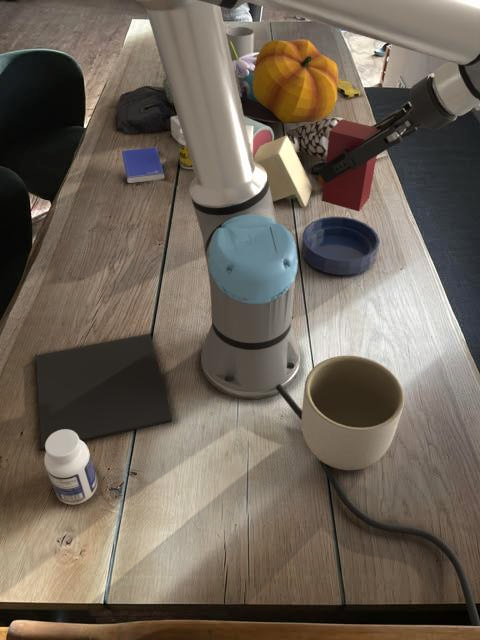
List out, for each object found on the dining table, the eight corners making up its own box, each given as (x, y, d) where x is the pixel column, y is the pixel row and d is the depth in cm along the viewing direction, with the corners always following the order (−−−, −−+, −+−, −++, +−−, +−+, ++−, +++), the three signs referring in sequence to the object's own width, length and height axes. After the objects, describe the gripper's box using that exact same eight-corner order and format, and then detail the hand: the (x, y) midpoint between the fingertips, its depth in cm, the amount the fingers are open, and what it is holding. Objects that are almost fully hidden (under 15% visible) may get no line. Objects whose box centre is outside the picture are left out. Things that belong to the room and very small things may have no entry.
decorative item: (346, 98, 168) (362, 95, 169) (346, 95, 167) (362, 92, 169) (327, 82, 175) (343, 80, 177) (328, 79, 175) (343, 77, 176)
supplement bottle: (176, 166, 140) (173, 132, 134) (186, 157, 143) (184, 123, 137) (194, 171, 138) (192, 136, 133) (204, 162, 141) (203, 128, 136)
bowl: (388, 270, 112) (392, 253, 109) (317, 284, 109) (319, 266, 107) (357, 228, 122) (359, 211, 119) (290, 240, 119) (292, 222, 116)
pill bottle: (79, 462, 82) (65, 416, 75) (106, 484, 79) (94, 439, 73) (46, 489, 79) (29, 444, 72) (73, 513, 76) (58, 469, 70)
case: (332, 187, 110) (341, 119, 101) (369, 198, 108) (381, 128, 99) (321, 200, 107) (329, 130, 98) (359, 211, 105) (370, 141, 96)
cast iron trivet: (173, 94, 169) (172, 77, 165) (179, 131, 153) (178, 113, 150) (117, 97, 167) (115, 79, 164) (117, 134, 151) (114, 116, 148)
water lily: (246, 33, 162) (258, 67, 165) (196, 56, 160) (209, 90, 163) (265, 25, 149) (278, 62, 152) (211, 50, 146) (225, 87, 150)
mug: (247, 121, 146) (279, 135, 141) (229, 156, 147) (260, 171, 142) (216, 97, 134) (251, 111, 129) (197, 136, 135) (230, 151, 130)
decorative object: (315, 148, 146) (319, 107, 139) (199, 132, 152) (198, 93, 145) (335, 99, 167) (339, 62, 160) (232, 87, 173) (232, 50, 166)
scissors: (376, 149, 146) (306, 169, 139) (377, 146, 146) (307, 166, 139) (394, 161, 142) (323, 183, 135) (395, 158, 141) (324, 179, 134)
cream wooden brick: (246, 165, 124) (275, 217, 130) (278, 153, 120) (306, 207, 127) (256, 146, 130) (283, 197, 136) (287, 134, 126) (313, 186, 133)
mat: (172, 421, 87) (172, 418, 86) (42, 450, 83) (41, 448, 83) (150, 336, 99) (150, 333, 99) (36, 358, 96) (35, 355, 95)
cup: (221, 63, 186) (220, 29, 179) (245, 59, 189) (246, 25, 182) (232, 73, 181) (232, 38, 174) (257, 69, 183) (258, 34, 176)
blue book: (164, 172, 135) (156, 146, 144) (126, 177, 133) (121, 150, 142) (164, 179, 136) (157, 153, 145) (127, 183, 134) (122, 156, 143)
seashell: (297, 132, 131) (315, 175, 134) (349, 106, 132) (365, 149, 136) (276, 135, 147) (292, 173, 150) (323, 112, 148) (338, 151, 151)
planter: (317, 491, 79) (326, 440, 71) (286, 417, 87) (291, 365, 80) (405, 469, 81) (422, 418, 74) (366, 399, 90) (378, 347, 82)
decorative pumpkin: (339, 130, 149) (369, 85, 137) (261, 139, 140) (286, 91, 127) (306, 67, 155) (332, 18, 142) (229, 71, 146) (250, 19, 133)
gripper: (443, 141, 83) (320, 211, 100) (474, 94, 95) (359, 164, 112) (413, 95, 82) (293, 174, 99) (449, 53, 93) (336, 130, 110)
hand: (328, 168), depth 105 cm, fingers closed on case, 5 cm apart
